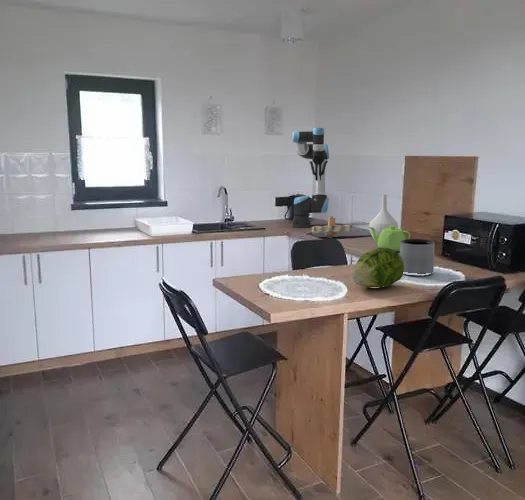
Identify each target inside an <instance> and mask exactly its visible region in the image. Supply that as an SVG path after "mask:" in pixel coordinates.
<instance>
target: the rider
mask: <svg viewBox="0 0 525 500" xmlns="http://www.w3.org/2000/svg"><path fill="white" fill-rule="evenodd" d="M335 225H336V217H334V216H330V217H328V218H327V226H328V227H332V226H333V227H335Z"/></svg>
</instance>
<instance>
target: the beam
mask: <svg viewBox="0 0 525 500" xmlns="http://www.w3.org/2000/svg"><path fill="white" fill-rule="evenodd" d="M351 231H352V225H350V224H338V225H337V224H335V227H333V226H332V227H328V225H315V226H314V225H313V226H312V225H311V232H312V233H314V234H319V233H320V234H321V233H322V234H323V233H324V234H325V235H324V236H325V237H326V236H327V237H326V238H328V239H332V238H331V237H338V236H339V235H338V234H339V233H340V232H342V233H343V232H351ZM338 238H339V237H338Z"/></svg>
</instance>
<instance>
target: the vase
mask: <svg viewBox="0 0 525 500" xmlns="http://www.w3.org/2000/svg"><path fill="white" fill-rule="evenodd" d="M387 196H388V195H387V194H382V196H381V209H380V211H379V212H378V214H377V215H376V216H374V218H373V219H372V220H370V222H369V225H368V230H369V233H370V236H371V237H372V238H373V233H372V230H371V229H370V228H369V227H373V228H374V229H375V231H376V235H377V236H378V237H379V236H380V234H381V232H382V230H383V229H385V228H390V227H389V226H396V228H399V224H398V221H397V220H396V219H395V218H394V217H393V216H392V215H391V213H390V212H389V211H388V209H387V208H388V207H387V204H388V203H387V202H388V201H387V199H388V198H387Z"/></svg>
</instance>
